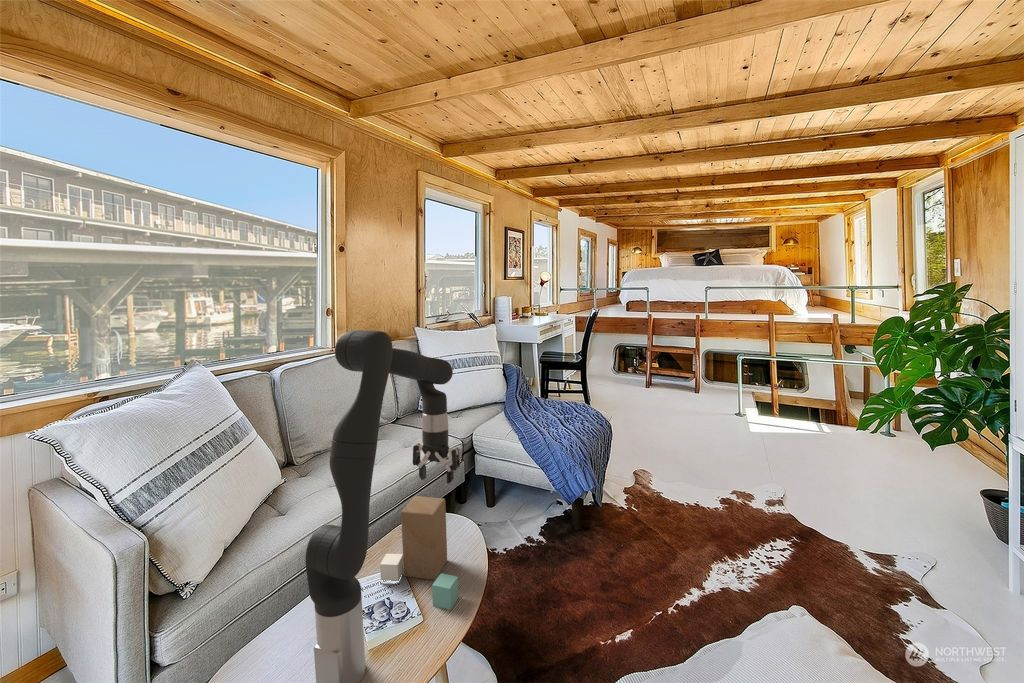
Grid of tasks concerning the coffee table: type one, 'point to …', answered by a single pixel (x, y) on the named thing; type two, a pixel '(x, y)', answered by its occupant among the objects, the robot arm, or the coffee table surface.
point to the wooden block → (424, 537)
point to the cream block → (392, 567)
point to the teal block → (445, 591)
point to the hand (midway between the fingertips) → (436, 480)
